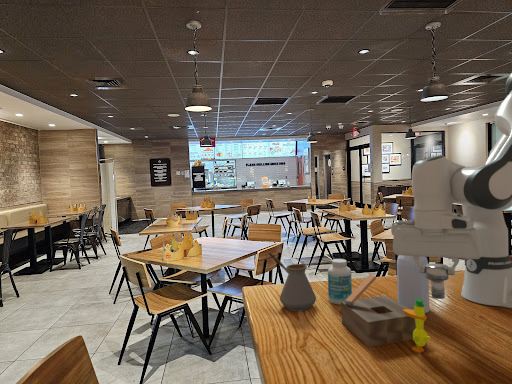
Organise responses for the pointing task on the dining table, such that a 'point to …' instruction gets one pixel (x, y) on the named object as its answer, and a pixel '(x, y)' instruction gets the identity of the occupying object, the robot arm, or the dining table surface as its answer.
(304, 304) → the coffee pot
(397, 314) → the brown square block
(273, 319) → the dining table surface
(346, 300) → the bar
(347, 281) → the pill bottle
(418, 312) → the toy figure
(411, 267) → the soap bottle
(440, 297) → the steel pin
